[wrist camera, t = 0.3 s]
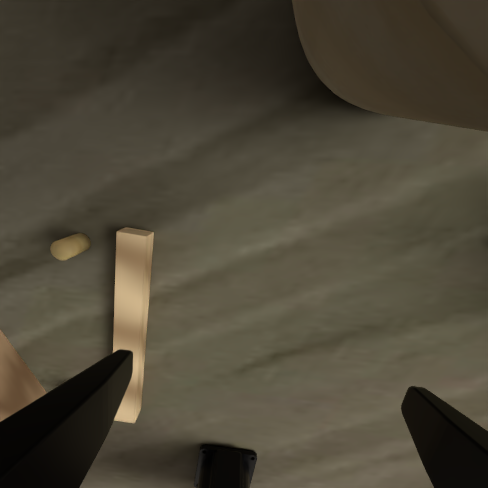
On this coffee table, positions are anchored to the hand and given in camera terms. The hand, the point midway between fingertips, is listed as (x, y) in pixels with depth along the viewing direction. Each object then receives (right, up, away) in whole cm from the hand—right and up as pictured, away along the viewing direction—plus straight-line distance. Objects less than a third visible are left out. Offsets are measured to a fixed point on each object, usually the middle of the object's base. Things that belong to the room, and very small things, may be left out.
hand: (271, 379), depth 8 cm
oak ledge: (-14, -3, +16) cm, 21 cm away
